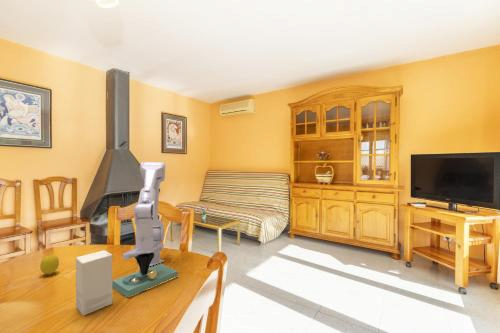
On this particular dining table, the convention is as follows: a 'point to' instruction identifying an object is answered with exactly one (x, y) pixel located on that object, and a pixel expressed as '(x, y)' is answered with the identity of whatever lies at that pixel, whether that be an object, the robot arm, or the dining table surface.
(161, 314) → the dining table surface
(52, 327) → the dining table surface
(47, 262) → the lemon
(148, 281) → the bearing plate
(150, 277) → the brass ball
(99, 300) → the skincare box
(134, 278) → the steel ball
